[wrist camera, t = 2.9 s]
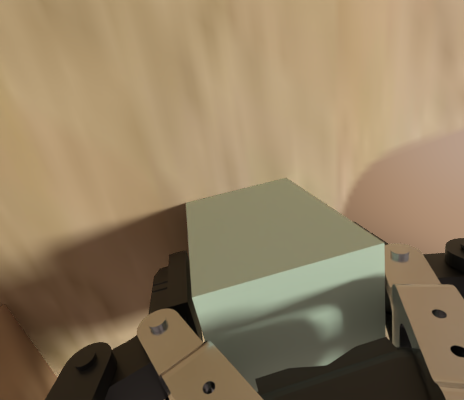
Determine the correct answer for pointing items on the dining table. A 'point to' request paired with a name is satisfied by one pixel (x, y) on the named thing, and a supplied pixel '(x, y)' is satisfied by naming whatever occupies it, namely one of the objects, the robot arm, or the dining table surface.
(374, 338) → the green block
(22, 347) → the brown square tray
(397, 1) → the dining table surface
